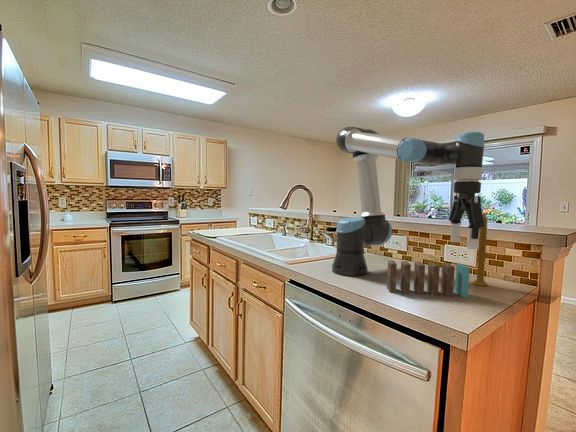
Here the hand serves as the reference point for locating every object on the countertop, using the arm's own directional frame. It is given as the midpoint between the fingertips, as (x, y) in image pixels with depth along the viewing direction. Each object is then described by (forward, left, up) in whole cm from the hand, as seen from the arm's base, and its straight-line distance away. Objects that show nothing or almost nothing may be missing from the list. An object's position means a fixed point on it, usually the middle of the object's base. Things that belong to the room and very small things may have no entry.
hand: (462, 245), depth 95 cm
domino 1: (-22, 0, -17) cm, 28 cm away
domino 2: (-18, 0, -17) cm, 24 cm away
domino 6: (0, 0, -17) cm, 17 cm away
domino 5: (-4, 0, -17) cm, 17 cm away
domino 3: (-13, 0, -17) cm, 21 cm away
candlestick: (+12, +14, -17) cm, 25 cm away
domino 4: (-9, 0, -17) cm, 19 cm away
